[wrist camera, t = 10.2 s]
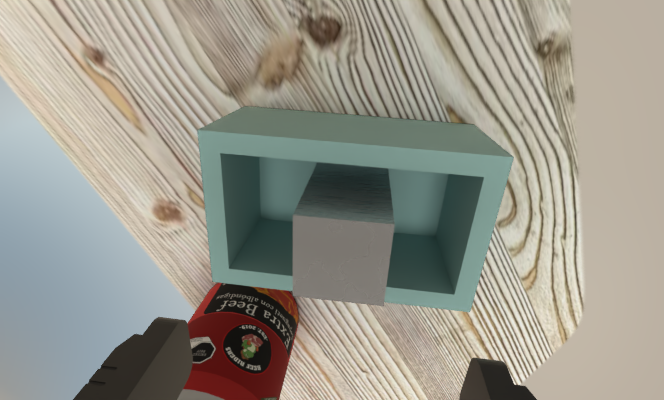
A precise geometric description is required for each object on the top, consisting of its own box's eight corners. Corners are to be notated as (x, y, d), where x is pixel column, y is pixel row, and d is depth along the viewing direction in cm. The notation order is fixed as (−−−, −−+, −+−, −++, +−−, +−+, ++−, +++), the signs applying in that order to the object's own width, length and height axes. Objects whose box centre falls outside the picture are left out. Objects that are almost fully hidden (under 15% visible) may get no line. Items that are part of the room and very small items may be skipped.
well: (245, 106, 22) (197, 130, 16) (473, 124, 21) (513, 157, 15) (250, 225, 26) (212, 281, 20) (446, 246, 25) (469, 312, 19)
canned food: (319, 303, 28) (289, 448, 18) (268, 358, 31) (219, 509, 21) (236, 250, 27) (154, 375, 17) (192, 314, 30) (101, 451, 20)
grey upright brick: (322, 151, 22) (292, 215, 14) (386, 156, 22) (394, 224, 14) (320, 208, 24) (292, 295, 16) (380, 214, 23) (383, 305, 15)
